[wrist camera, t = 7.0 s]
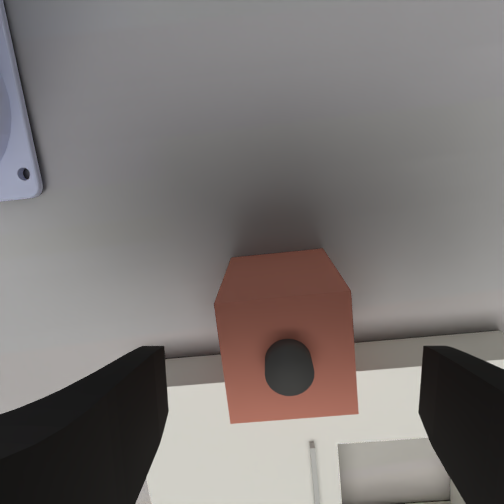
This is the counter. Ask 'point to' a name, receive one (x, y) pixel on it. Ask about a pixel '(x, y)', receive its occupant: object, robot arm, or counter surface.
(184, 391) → the socket board
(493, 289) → the counter surface
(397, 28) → the counter surface
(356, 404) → the plug
